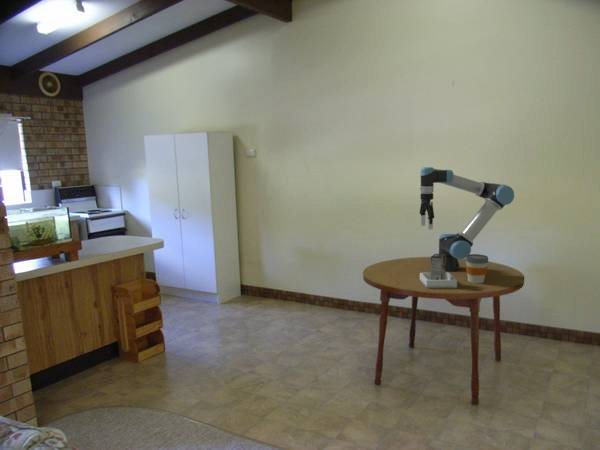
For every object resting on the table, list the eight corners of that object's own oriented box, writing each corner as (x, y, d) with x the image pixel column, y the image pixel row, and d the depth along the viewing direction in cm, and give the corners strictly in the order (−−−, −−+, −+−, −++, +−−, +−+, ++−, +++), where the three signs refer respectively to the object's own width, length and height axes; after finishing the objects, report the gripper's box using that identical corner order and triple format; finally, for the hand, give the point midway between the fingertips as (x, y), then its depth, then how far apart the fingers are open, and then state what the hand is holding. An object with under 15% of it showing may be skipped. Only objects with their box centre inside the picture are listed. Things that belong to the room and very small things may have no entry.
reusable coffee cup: (467, 277, 292) (468, 253, 290) (488, 279, 286) (490, 255, 284) (462, 282, 282) (463, 257, 279) (485, 285, 275) (486, 259, 273)
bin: (447, 279, 287) (448, 272, 287) (456, 287, 271) (457, 280, 270) (419, 279, 288) (419, 272, 287) (426, 288, 271) (426, 280, 270)
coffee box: (434, 279, 284) (435, 253, 282) (445, 281, 281) (446, 254, 278) (430, 283, 277) (430, 256, 274) (441, 285, 273) (442, 257, 271)
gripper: (414, 191, 302) (414, 224, 306) (427, 195, 278) (427, 231, 281) (426, 190, 303) (425, 223, 306) (440, 194, 278) (439, 230, 281)
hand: (426, 227), depth 294 cm, fingers open, 13 cm apart
